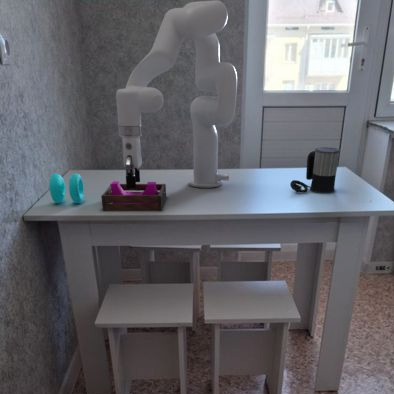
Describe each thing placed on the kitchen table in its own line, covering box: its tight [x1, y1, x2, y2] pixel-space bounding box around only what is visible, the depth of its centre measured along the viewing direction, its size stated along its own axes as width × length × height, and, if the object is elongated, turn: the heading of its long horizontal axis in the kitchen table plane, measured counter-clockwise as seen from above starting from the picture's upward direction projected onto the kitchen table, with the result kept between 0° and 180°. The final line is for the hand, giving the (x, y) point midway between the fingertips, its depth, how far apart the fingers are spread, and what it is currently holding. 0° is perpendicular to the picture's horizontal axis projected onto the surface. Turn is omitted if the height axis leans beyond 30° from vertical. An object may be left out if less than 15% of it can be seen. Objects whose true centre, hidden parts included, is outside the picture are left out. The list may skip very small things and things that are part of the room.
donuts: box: [49, 173, 85, 204], centre depth 171 cm, size 10×10×10 cm
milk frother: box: [289, 146, 341, 194], centre depth 182 cm, size 14×16×15 cm
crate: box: [100, 183, 167, 212], centre depth 171 cm, size 20×17×5 cm
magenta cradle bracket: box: [110, 180, 159, 204], centre depth 170 cm, size 15×6×8 cm, turn 85°
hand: (133, 185), depth 169 cm, fingers open, 9 cm apart
